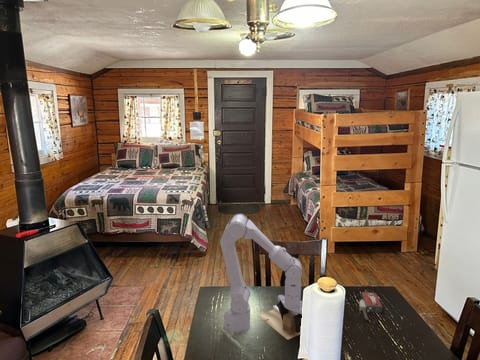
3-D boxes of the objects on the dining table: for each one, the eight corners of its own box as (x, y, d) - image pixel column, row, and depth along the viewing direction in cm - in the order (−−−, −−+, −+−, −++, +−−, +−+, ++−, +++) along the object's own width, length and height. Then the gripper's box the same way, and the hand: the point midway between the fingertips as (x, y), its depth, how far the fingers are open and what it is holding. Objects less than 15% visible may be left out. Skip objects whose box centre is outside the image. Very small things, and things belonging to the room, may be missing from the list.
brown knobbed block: (286, 336, 128) (287, 321, 126) (279, 330, 131) (280, 316, 130) (303, 329, 132) (303, 314, 131) (295, 323, 135) (296, 309, 134)
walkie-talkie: (355, 296, 159) (363, 322, 139) (355, 287, 158) (364, 312, 138) (375, 297, 157) (387, 324, 138) (376, 288, 157) (388, 314, 137)
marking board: (287, 343, 126) (287, 335, 126) (257, 318, 141) (257, 311, 140) (306, 334, 131) (306, 327, 130) (275, 311, 146) (275, 304, 145)
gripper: (315, 298, 125) (313, 332, 127) (288, 281, 137) (287, 313, 139) (300, 304, 121) (299, 339, 124) (273, 286, 133) (273, 319, 135)
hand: (291, 326), depth 131 cm, fingers open, 7 cm apart
